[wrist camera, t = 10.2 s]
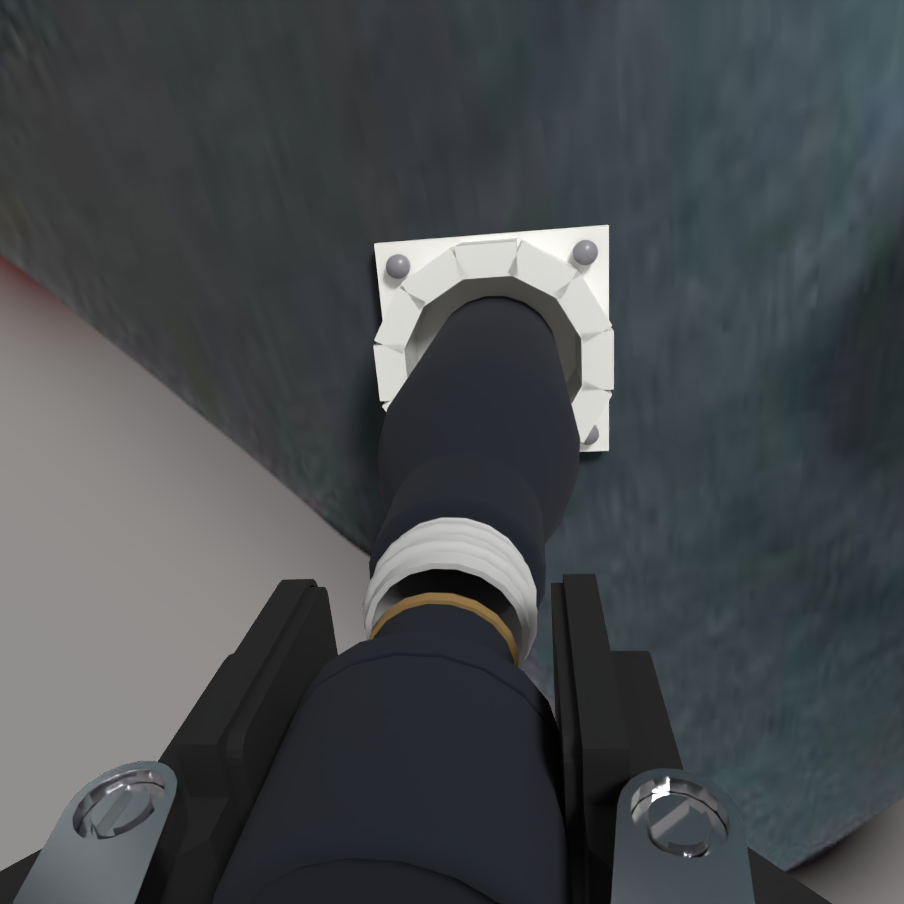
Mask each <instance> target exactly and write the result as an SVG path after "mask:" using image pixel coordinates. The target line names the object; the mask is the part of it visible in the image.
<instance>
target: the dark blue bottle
mask: <svg viewBox="0 0 904 904" xmlns="http://www.w3.org/2000/svg"><path fill="white" fill-rule="evenodd" d="M579 454H580V436H579V432H578V428H577V424H576V420H575V416H574V412H573V408H572V404H571V400H570V396H569V392H568V388H567V384H566V380H565V376H564V373H563V369H562V365H561V361H560V357H559V353H558V349H557V345H556V342H555V339H554V335H553V332H552V329H551V328H550V327H549V325H548V324H547V322H546V321H545V320H544V318H543V317H542V315H541V314H540V313H539V312H537V311H536V310H535V309H533V308H532V307H530V306H529V305H528V304H526V303H525V302H523V301H520V300H516V299H513V298H510V297H507V296H484V297H481V298H478V299H475V300H472V301H469V302H466V303H465V304H464V305H462V306H461V307H460V308H458V309H457V310H456V311H454V312H453V313H452V314H451V315H450V316H449V317H448V319H447V320H446V322H445V323H444V325H443V326H442V328H441V329H440V330H439V332H438V333H437V335H436V336H435V338H434V339H433V341H432V342H431V344H430V345H429V347H428V348H427V350H426V351H425V353H424V354H423V356H422V357H421V359H420V360H419V362H418V363H417V365H416V366H415V368H414V369H413V371H412V372H411V374H410V375H409V377H408V378H407V380H406V381H405V383H404V384H403V386H402V387H401V389H400V390H399V392H398V393H397V395H396V396H395V398H394V399H393V401H392V402H391V404H390V405H389V407H388V408H387V412H386V416H385V419H384V423H383V427H382V430H381V434H380V439H379V447H378V475H379V491H380V498H381V501H382V505H383V508H384V511H385V514H386V518H385V520H384V522H383V524H382V527H381V529H380V531H379V534H378V536H377V538H376V541H375V545H374V548H373V551H372V555H371V558H370V562H369V568H370V582H369V585H368V589H367V592H366V595H365V599H364V602H363V612H364V625H365V630H366V635H367V641H363V642H360V643H358V644H356V645H355V646H353V647H351V648H350V649H348V650H347V651H345V652H343V653H342V654H340V655H338V656H337V657H335V658H333V659H332V660H330V661H329V662H327V663H326V665H325V666H324V667H323V668H322V670H321V671H320V672H319V674H318V675H317V676H316V677H315V679H314V680H313V681H312V683H311V684H310V685H309V686H308V688H307V689H306V690H305V693H304V695H303V697H302V699H301V702H300V704H299V706H298V708H297V712H296V714H295V715H294V717H293V719H292V722H291V724H290V726H289V728H288V731H287V733H286V735H285V737H284V740H283V742H282V744H281V746H280V749H279V751H278V753H277V755H276V757H275V760H274V762H273V764H272V766H271V769H270V771H269V773H268V775H267V778H266V780H265V782H264V784H263V786H262V789H261V791H260V793H259V795H258V798H257V800H256V802H255V804H254V807H253V809H252V811H251V813H250V815H249V818H248V820H247V822H246V824H245V827H244V829H243V831H242V833H241V836H240V838H239V840H238V842H237V845H236V847H235V849H234V851H233V853H232V856H231V858H230V860H229V862H228V865H227V867H226V869H225V871H224V874H223V876H222V878H221V880H220V882H219V885H218V887H217V889H216V892H215V895H214V899H213V904H573V894H572V880H571V867H570V853H569V840H568V836H567V833H566V823H565V808H564V794H563V780H562V765H561V751H560V737H559V729H558V727H557V724H556V721H555V719H554V716H553V713H552V710H551V707H550V705H549V702H548V700H547V699H546V698H545V697H544V696H543V694H542V693H541V692H540V691H539V690H538V688H537V687H536V686H535V685H534V684H533V682H532V681H531V680H530V679H529V678H528V676H527V675H526V674H525V673H524V672H523V671H522V670H521V669H520V668H521V666H522V664H523V661H524V660H525V659H526V657H527V656H528V654H529V651H530V649H531V647H532V644H533V642H534V639H535V637H536V635H537V611H538V609H539V606H540V604H541V601H542V599H543V596H544V594H545V577H546V563H545V548H544V544H545V543H546V542H547V540H548V539H549V538H550V537H551V535H552V534H553V533H554V531H555V530H556V529H557V527H558V526H559V524H560V522H561V519H562V517H563V514H564V512H565V509H566V507H567V504H568V502H569V499H570V497H571V494H572V491H573V489H574V486H575V483H576V479H577V474H578V470H579Z"/></svg>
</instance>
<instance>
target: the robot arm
mask: <svg viewBox="0 0 904 904" xmlns="http://www.w3.org/2000/svg"><path fill="white" fill-rule="evenodd" d="M551 601H552V631H553V661H554V691H555V719H556V724H557V727H558V729H559V737H560V751H561V765H562V780H563V794H564V808H565V823H566V833H567V836H568V840H569V853H570V867H571V880H572V894H573V904H831V903H830V902H828V901H827V900H826V899H824V898H823V897H821V896H820V895H818V894H817V893H815V892H814V891H812V890H811V889H809V888H808V887H806V886H805V885H803V884H802V883H800V882H799V881H797V880H796V879H795V878H793V877H791V876H790V875H789V874H787V873H786V872H784V871H783V870H781V869H780V868H778V867H777V866H775V865H774V864H772V863H771V862H769V861H768V860H766V859H765V858H764V857H762V856H761V855H759V854H758V853H756V852H755V851H753V850H752V849H750V848H749V847H747V842H746V835H745V827H744V823H743V820H742V817H741V814H740V811H739V809H738V808H737V806H736V805H735V803H734V802H733V801H732V799H731V798H730V797H729V795H728V794H727V793H725V792H724V791H723V790H722V789H721V788H719V787H718V786H717V785H716V784H715V783H713V782H711V781H709V780H707V779H705V778H704V777H702V776H700V775H698V774H695V773H691V772H688V771H684V770H683V767H682V763H681V760H680V756H679V753H678V749H677V746H676V742H675V739H674V735H673V732H672V728H671V725H670V721H669V718H668V714H667V711H666V707H665V704H664V700H663V697H662V693H661V690H660V686H659V683H658V679H657V676H656V672H655V669H654V665H653V662H652V658H651V656H650V653H649V652H648V651H610V646H609V641H608V636H607V631H606V626H605V621H604V616H603V611H602V605H601V600H600V595H599V590H598V585H597V580H596V576H595V574H563V583H551ZM337 656H338V653H337V648H336V641H335V635H334V628H333V622H332V616H331V610H330V604H329V597H328V593H327V590H326V588H325V587H318V586H317V583H316V581H315V580H314V579H296V580H282V581H281V582H280V583H279V585H278V586H277V588H276V589H275V591H274V592H273V594H272V596H271V597H270V599H269V600H268V602H267V603H266V605H265V606H264V608H263V609H262V611H261V612H260V614H259V615H258V617H257V619H256V620H255V622H254V623H253V625H252V626H251V628H250V630H249V631H248V633H247V634H246V636H245V637H244V639H243V641H242V642H241V644H240V645H239V647H238V648H237V650H236V651H235V653H234V654H231V655H229V656H228V657H227V658H226V659H225V660H224V662H223V663H222V665H221V666H220V668H219V669H218V671H217V672H216V674H215V675H214V677H213V678H212V680H211V681H210V683H209V684H208V686H207V688H206V689H205V691H204V692H203V694H202V695H201V697H200V698H199V700H198V701H197V703H196V704H195V706H194V707H193V709H192V711H191V712H190V713H189V715H188V716H187V718H186V720H185V721H184V723H183V724H182V726H181V727H180V729H179V730H178V732H177V733H176V735H175V736H174V738H173V739H172V741H171V743H170V744H169V745H168V747H167V748H166V750H165V752H164V753H163V755H162V756H161V758H160V759H159V761H158V762H156V761H137V762H133V763H129V764H125V765H121V766H119V767H116V768H114V769H112V770H110V771H107V772H105V773H103V774H102V775H100V776H98V777H97V778H95V779H94V780H92V781H91V782H89V783H88V784H87V785H86V786H85V787H83V788H82V789H81V790H80V791H79V792H78V793H77V794H76V795H75V796H74V797H73V798H72V800H71V801H70V802H69V804H68V805H67V807H66V808H65V809H64V811H63V813H62V814H61V817H60V818H59V820H58V822H57V823H56V825H55V827H54V829H53V831H52V832H51V834H50V836H49V838H48V840H47V841H46V843H45V845H44V847H43V848H42V849H41V850H39V851H37V852H35V853H34V854H31V855H30V856H28V857H26V858H24V859H22V860H20V861H18V862H17V863H15V864H13V865H11V866H9V867H8V868H6V869H4V870H2V871H0V904H213V899H214V895H215V892H216V889H217V887H218V885H219V882H220V880H221V878H222V876H223V874H224V871H225V869H226V867H227V865H228V862H229V860H230V858H231V856H232V853H233V851H234V849H235V847H236V845H237V842H238V840H239V838H240V836H241V833H242V831H243V829H244V827H245V824H246V822H247V820H248V818H249V815H250V813H251V811H252V809H253V807H254V804H255V802H256V800H257V798H258V795H259V793H260V791H261V789H262V786H263V784H264V782H265V780H266V778H267V775H268V773H269V771H270V769H271V766H272V764H273V762H274V760H275V757H276V755H277V753H278V751H279V749H280V746H281V744H282V742H283V740H284V737H285V735H286V733H287V731H288V728H289V726H290V724H291V722H292V719H293V717H294V715H295V714H296V712H297V708H298V706H299V704H300V702H301V699H302V697H303V695H304V693H305V690H306V689H307V688H308V686H309V685H310V684H311V683H312V681H313V680H314V679H315V677H316V676H317V675H318V674H319V672H320V671H321V670H322V668H323V667H324V666H325V665H326V663H327V662H329V661H330V660H332V659H333V658H335V657H337Z"/></svg>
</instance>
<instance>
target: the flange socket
mask: <svg viewBox="0 0 904 904" xmlns="http://www.w3.org/2000/svg"><path fill="white" fill-rule="evenodd" d="M374 247H375V256H376V265H377V274H378V283H379V292H380V301H381V310H382V319H383V321H382V324H381V326H380V328H379V331H378V333H377V335H376V338H375V340H374V341H376V342H377V343H376V344H375V345H374V346H373V347H374V355H375V363H376V372H377V380H378V389H379V397H380V401H385V403H384V404H383V405H382V407H383V408H384V410H385V411H386V412H387V408H388V407H389V405H390V404H391V402H392V401H393V399H394V398H395V396H396V395H397V393H398V392H399V390H400V389H401V387H402V386H403V384H404V383H405V381H406V380H407V378H408V377H409V375H410V374H411V372H412V371H413V369H414V368H415V366H416V365H417V363H418V362H419V360H420V359H421V357H422V356H423V354H424V353H425V351H426V350H427V348H428V347H429V345H430V344H431V342H432V341H433V339H434V338H435V336H436V335H437V333H438V332H439V330H440V329H441V328H442V326H443V325H444V323H445V322H446V320H447V319H448V317H449V316H450V315H451V314H452V313H453V312H454V311H456V310H457V309H458V308H460V307H461V306H462V305H464V304H465V303H466V302H469V301H472V300H475V299H478V298H481V297H484V296H507V297H510V298H513V299H516V300H520V301H523V302H525V303H526V304H528V305H529V306H530V307H532V308H533V309H535V310H536V311H537V312H539V313H540V314H541V315H542V317H543V318H544V320H545V321H546V322H547V324H548V325H549V327H550V328H551V329H552V332H553V335H554V339H555V342H556V345H557V349H558V353H559V357H560V361H561V365H562V369H563V373H564V376H565V380H566V384H567V388H568V392H569V396H570V400H571V404H572V408H573V412H574V416H575V420H576V424H577V428H578V432H579V436H580V452H590V451H609V399H610V398H611V396H612V393H611V391H610V389H614V331H613V329H612V328H611V326H612V324H611V323H610V321H609V225H599V226H586V227H573V228H561V229H548V230H536V231H523V232H510V233H498V234H485V235H472V236H460V237H447V238H435V239H422V240H409V241H397V242H384V243H376V244H374Z"/></svg>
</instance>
